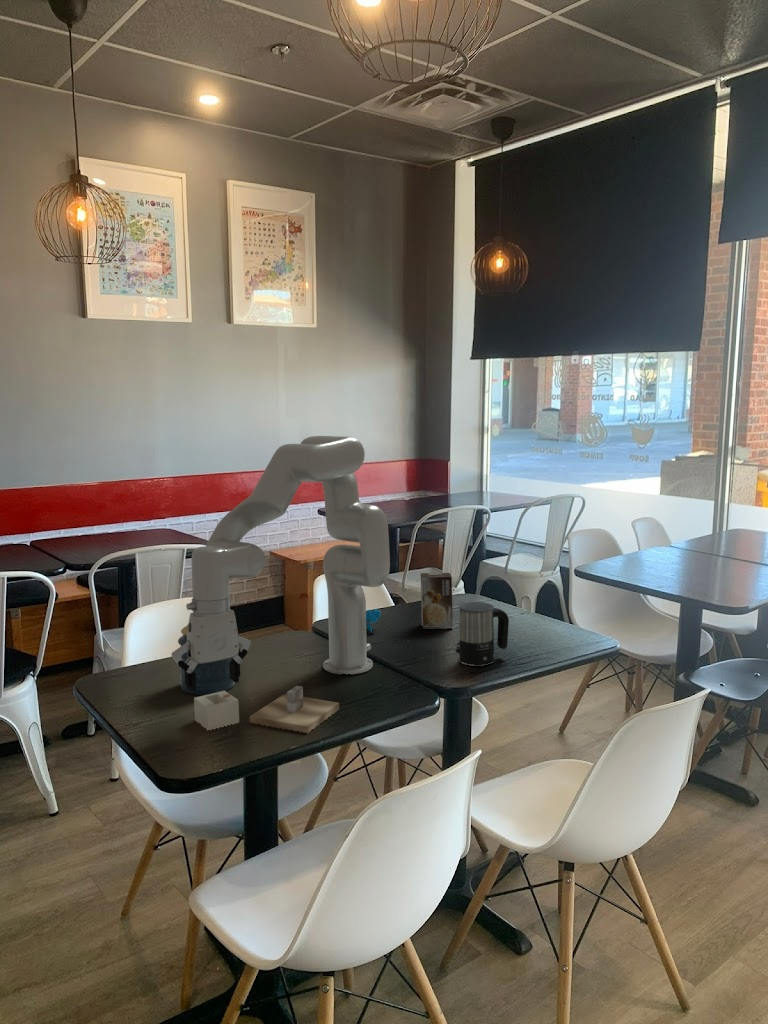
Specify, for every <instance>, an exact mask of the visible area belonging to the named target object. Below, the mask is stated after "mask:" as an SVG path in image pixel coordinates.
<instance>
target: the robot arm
mask: <svg viewBox="0 0 768 1024" xmlns="http://www.w3.org/2000/svg"><path fill="white" fill-rule="evenodd" d="M365 457H366V456H365V448H364V446H363V444H362V443H361V441H360V440H358V439H357V438H356V437H352V436H336V435H335V436H333V435H313V436H308V437H306V438H304V439H303V440H301V442H300V443H288V444H284V445H281V446H279V447H278V448H277V449H276V450H275V452H274V453H273V455H272V457H271V459H270V460H269V462H268V464H267V465H266V467H265V469H264V471H263V473H262V475H261V477H260V479H259V480H258V482H257V484H256V485H255V487H254V489H253V491H252V492H251V494H250V495H249V496H248V497H247V498H246V499H244V500H242V501H240V503H239V504H237V505H236V506H234V507H233V509H232V510H230V511H229V512H227V514H225V515H224V516H223V518H221V520H219V522H218V524H217V525H216V527H215V528H214V530H213V532H212V534H211V535H210V537H209V539H208V540H207V543H206V545H205V546H199V547H196V548H194V549H193V551H192V552H191V581H192V582H191V583H192V584H191V585H192V587H191V588H192V589H191V590H192V598H191V602H190V603H186V604H185V605H186V610H187V611H188V610H189V611H192V612H190V613H189V616H188V617H189V619H188V624H187V625H188V630H187V642H186V643H185V644H184V645H182V646H181V645H180V646H179V647H177V649H175V650H174V651H173V652H171V657H172V659H173V661H174V662H175V664H176V665H177V666H178V667H179V668H180V667H181V668H182V669H183V670H184V671H185V686H186V687H187V688H188V689H189V690H191V691H192V692H193V691H195V690H196V676H195V672H193V670H194V669H195V667H196V666H197V664H198V663H199V664H202V663H209V662H214V661H219V660H225V659H230V658H231V659H232V660H231V661H230V663H229V670H230V679H231V680H232V681H234V683H235V684H237V683H239V682H240V677H241V664H242V663H243V659H244V658H245V657H246V656H247V654H248V651H249V649H250V646H251V644H252V640H250V639H248V638H245V637H243V636H240V635H239V632H238V626H237V625H238V624H237V619H236V614H235V611H234V610H233V609H231V605H230V603H231V602H230V580H232V579H250V578H253V577H255V576H258V575H259V574H260V573H261V572H262V570H263V569H264V568H265V565H266V555H265V553H264V551H263V549H261V547H260V546H258V545H256V544H254V543H251V542H244V541H241V540H242V539H243V538H244V537H245V535H246V534H248V533H250V531H252V530H253V529H255V528H257V527H259V526H260V525H261V526H262V525H263V524H266V523H269V522H271V521H273V520H274V521H275V520H277V519H278V518H280V517H283V516H284V515H285V513H286V512H287V510H288V509H289V506H290V504H291V503H292V500H293V498H294V496H295V495H296V493H297V491H298V489H299V488H300V485H301V483H303V482H306V483H321V485H322V488H323V496H324V498H323V499H324V509H325V510H324V512H325V523H326V530H327V533H328V535H329V536H330V537H331V538H333V539H335V540H339V541H344V542H345V541H346V542H350V543H357V544H358V543H359V545H353V544H336V545H333V546H331V547H329V548H328V550H327V551H326V552H325V554H324V556H323V560H322V568H323V574H324V578H325V583H326V589H327V612H328V613H327V615H328V618H327V619H328V656H329V658H328V659H325V660H324V662H323V664H322V665H323V669H324V670H325V671H327V673H329V674H330V673H331V674H333V675H334V674H335V675H342V674H346V675H345V676H347V675H348V674H350V675H357V674H363V673H365V672H369V671H370V670H371V669H372V668H373V666H374V665H373V664H374V663H373V660H372V659H371V658H369V657H367V654H368V653H367V652H368V651H370V650H371V649H372V645H371V644H370V643H368V642H367V626H366V614H367V612H366V611H367V609H366V608H367V605H366V604H367V602H366V601H367V599H366V595H365V592H364V589H363V587H368V588H378V587H381V586H383V585H384V584H385V583H386V581H387V579H388V577H389V574H390V571H391V569H390V568H391V556H390V537H389V536H390V535H389V525H388V524H389V523H388V519H387V517H386V515H385V512H384V511H383V509H381V508H380V507H379V506H377V505H374V504H366V503H361V502H360V495H359V486H358V482H357V478H356V475H355V472H357V471H358V470H359V469H361V467H362V465H363V463H364V461H365ZM240 644H241V647H240ZM186 652H187V656H188V659H187V660H186V662H183V660H182V658H181V656H182V655H183V654H184V653H186ZM348 676H349V675H348Z"/></svg>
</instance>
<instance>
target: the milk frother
mask: <svg viewBox="0 0 768 1024" xmlns="http://www.w3.org/2000/svg"><path fill="white" fill-rule="evenodd" d="M458 609H459V641H458V642H457V644H456V650H458V649H459V650H460V651H459V650H458V651H459V658H458V660H459V659H460V661H461V662H464V663H467V664H474V665H482V664H488V663H491V662H493V661H494V662H495V659H494V653H495V646H494V645H495V644H494V643H495V642H494V640H495V639H494V637H495V636H494V632H495V631H494V618H497V622H498V623H497V636H496V637H497V643H496V645H497V646H498V648H500V649H502V650H505V649H507V647H508V639H509V638H508V637H509V624H510V623H509V621H510V620H509V616H508V614H507V613H506V611H504V610H503V609H501V608H497V607H494V605H493V604H491V603H487V602H481V601H478V602H477V601H473V602H465V603H461V604H459V605H458Z"/></svg>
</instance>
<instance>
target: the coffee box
mask: <svg viewBox="0 0 768 1024" xmlns="http://www.w3.org/2000/svg"><path fill="white" fill-rule="evenodd" d="M452 579H453V577H452V574H451V573H450V572H423V573H422V572H420V603H421V604H420V605H421V607H420V610H421V613H420V614H421V627H422V626H423V627H453V625H454V624H453V581H452ZM453 628H454V627H453Z"/></svg>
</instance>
